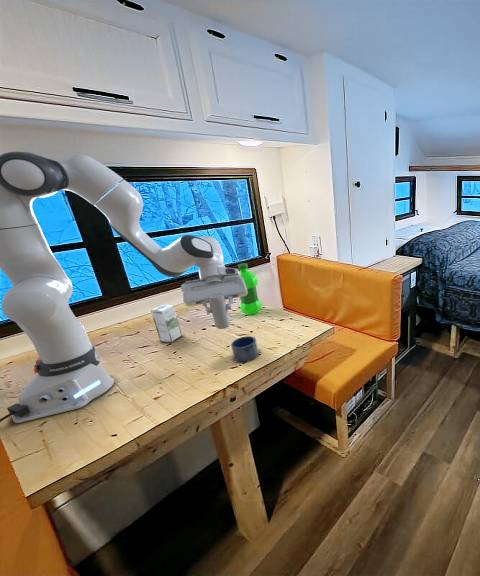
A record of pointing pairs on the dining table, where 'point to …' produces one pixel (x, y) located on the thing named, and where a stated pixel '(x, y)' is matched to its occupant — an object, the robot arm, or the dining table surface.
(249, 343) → the can holder
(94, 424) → the dining table surface
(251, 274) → the plastic bottle
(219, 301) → the beverage can
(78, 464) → the dining table surface
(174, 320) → the syrup box
